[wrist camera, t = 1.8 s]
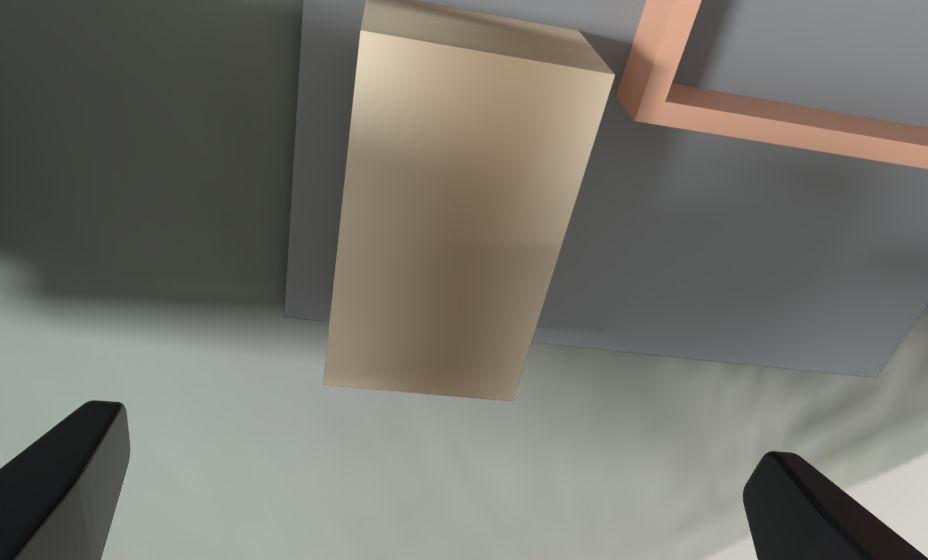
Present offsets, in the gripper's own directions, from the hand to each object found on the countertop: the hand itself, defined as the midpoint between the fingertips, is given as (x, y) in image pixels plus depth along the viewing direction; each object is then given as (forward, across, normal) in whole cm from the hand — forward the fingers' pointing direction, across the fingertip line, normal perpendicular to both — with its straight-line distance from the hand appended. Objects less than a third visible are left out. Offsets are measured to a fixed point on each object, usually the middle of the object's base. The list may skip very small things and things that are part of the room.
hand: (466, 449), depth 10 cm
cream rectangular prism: (+8, 0, 0) cm, 8 cm away
